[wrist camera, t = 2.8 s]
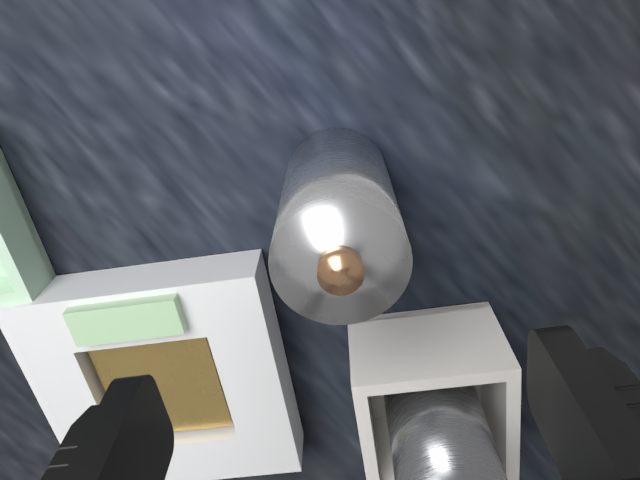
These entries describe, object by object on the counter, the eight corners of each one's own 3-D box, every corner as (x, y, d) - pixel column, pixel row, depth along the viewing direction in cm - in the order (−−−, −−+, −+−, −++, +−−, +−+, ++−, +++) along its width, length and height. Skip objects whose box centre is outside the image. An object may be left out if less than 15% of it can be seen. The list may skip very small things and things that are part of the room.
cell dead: (464, 331, 26) (521, 479, 18) (467, 398, 28) (519, 557, 20) (376, 342, 27) (396, 491, 19) (385, 407, 28) (406, 566, 21)
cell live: (381, 120, 22) (409, 196, 14) (391, 215, 24) (420, 327, 16) (278, 136, 22) (252, 218, 15) (295, 228, 24) (281, 344, 17)
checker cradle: (261, 248, 25) (252, 284, 22) (303, 433, 30) (300, 481, 27) (21, 280, 26) (-17, 318, 23) (103, 453, 31) (80, 501, 28)
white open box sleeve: (488, 301, 26) (521, 368, 21) (489, 407, 29) (519, 485, 25) (347, 318, 26) (351, 387, 22) (363, 420, 30) (369, 499, 25)
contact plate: (209, 322, 26) (204, 335, 25) (235, 411, 28) (232, 425, 27) (95, 336, 26) (86, 349, 25) (131, 422, 29) (125, 436, 28)
